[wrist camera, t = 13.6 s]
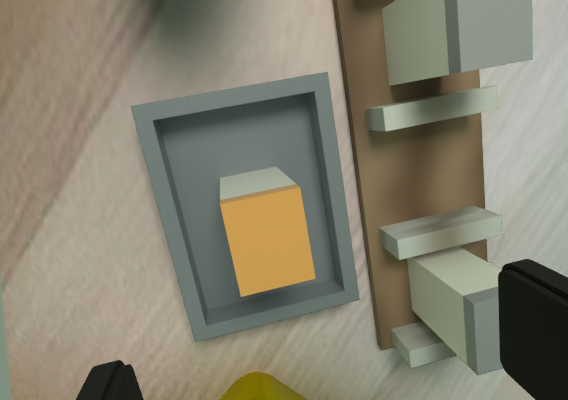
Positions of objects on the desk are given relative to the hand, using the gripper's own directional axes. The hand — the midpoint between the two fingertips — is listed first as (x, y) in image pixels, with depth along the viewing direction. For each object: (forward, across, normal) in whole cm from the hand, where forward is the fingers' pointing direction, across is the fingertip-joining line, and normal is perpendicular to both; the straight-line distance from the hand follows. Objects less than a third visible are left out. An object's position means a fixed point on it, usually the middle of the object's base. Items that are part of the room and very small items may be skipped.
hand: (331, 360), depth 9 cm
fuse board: (+19, -12, +1) cm, 23 cm away
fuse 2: (+18, -12, +10) cm, 24 cm away
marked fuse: (+18, 0, +1) cm, 18 cm away
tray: (+19, +1, +1) cm, 19 cm away
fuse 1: (+18, -12, -8) cm, 23 cm away
